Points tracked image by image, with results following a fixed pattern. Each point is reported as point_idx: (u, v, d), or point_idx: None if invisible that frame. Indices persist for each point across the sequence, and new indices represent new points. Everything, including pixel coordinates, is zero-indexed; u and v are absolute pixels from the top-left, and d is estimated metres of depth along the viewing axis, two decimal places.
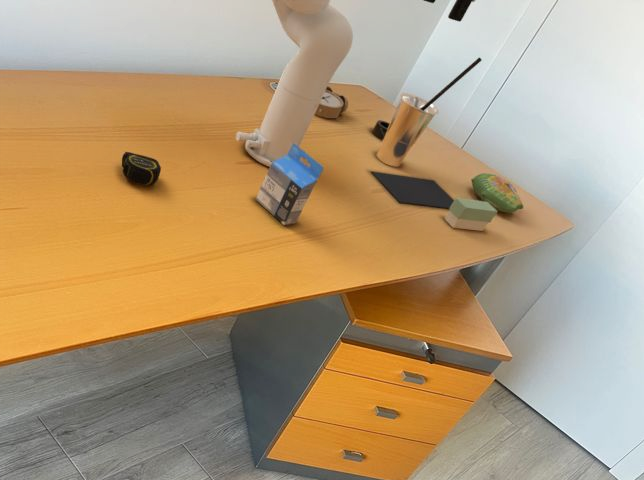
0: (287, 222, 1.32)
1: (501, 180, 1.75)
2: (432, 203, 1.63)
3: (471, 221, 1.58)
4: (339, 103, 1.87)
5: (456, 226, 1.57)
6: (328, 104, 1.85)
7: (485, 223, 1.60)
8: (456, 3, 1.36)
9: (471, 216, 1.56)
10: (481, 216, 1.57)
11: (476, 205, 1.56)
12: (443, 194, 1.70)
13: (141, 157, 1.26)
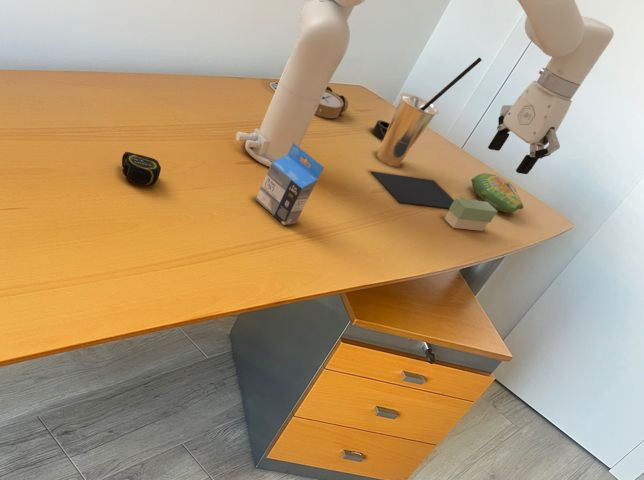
0: (287, 222, 1.32)
1: (501, 180, 1.75)
2: (432, 203, 1.63)
3: (471, 221, 1.58)
4: (339, 103, 1.87)
5: (456, 226, 1.57)
6: (328, 104, 1.85)
7: (485, 223, 1.60)
8: (524, 160, 1.45)
9: (471, 216, 1.56)
10: (481, 216, 1.57)
11: (476, 205, 1.56)
12: (443, 194, 1.70)
13: (141, 157, 1.26)
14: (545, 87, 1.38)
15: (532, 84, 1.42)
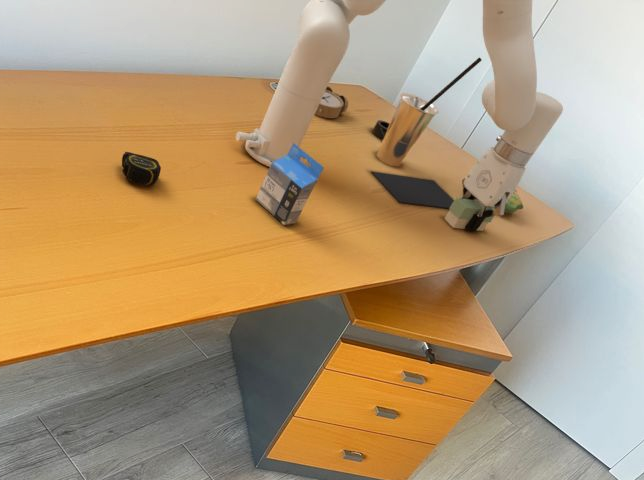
0: (287, 222, 1.32)
1: None
2: (432, 203, 1.63)
3: None
4: (339, 103, 1.87)
5: (456, 226, 1.57)
6: (328, 104, 1.85)
7: (485, 223, 1.60)
8: (472, 219, 1.56)
9: (471, 216, 1.56)
10: None
11: (476, 205, 1.56)
12: (443, 194, 1.70)
13: (141, 157, 1.26)
14: (500, 155, 1.47)
15: (489, 151, 1.51)
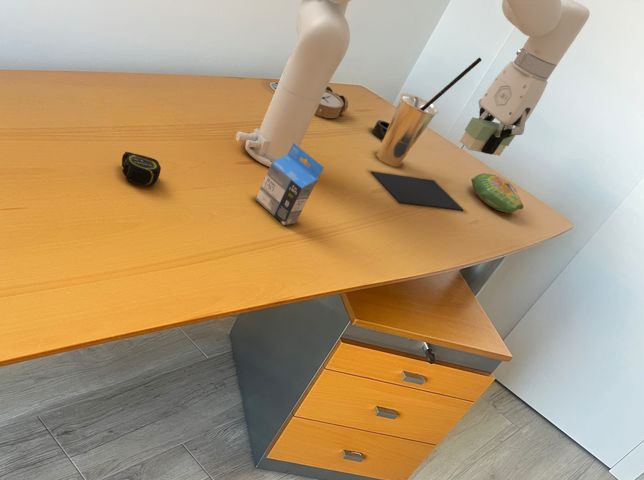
0: (287, 222, 1.32)
1: (501, 180, 1.75)
2: (432, 203, 1.63)
3: None
4: (339, 103, 1.87)
5: (472, 148, 1.48)
6: (328, 104, 1.85)
7: (503, 147, 1.51)
8: (489, 140, 1.47)
9: (488, 137, 1.47)
10: None
11: (493, 125, 1.47)
12: (443, 194, 1.70)
13: (141, 157, 1.26)
14: (521, 67, 1.38)
15: (509, 65, 1.42)
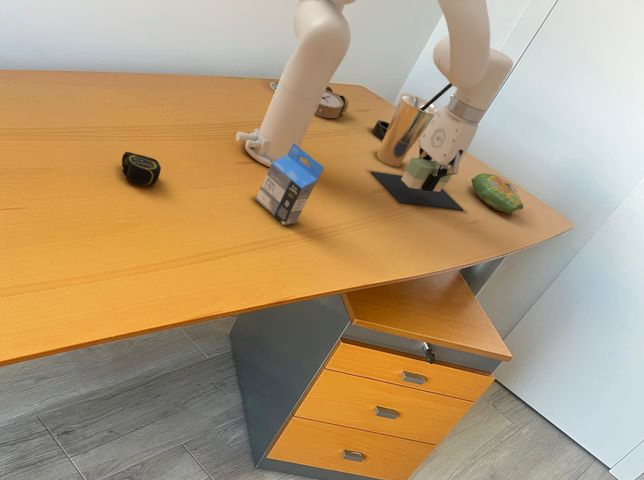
0: (287, 222, 1.32)
1: (501, 180, 1.75)
2: (432, 203, 1.63)
3: None
4: (339, 103, 1.87)
5: (412, 186, 1.57)
6: (328, 104, 1.85)
7: (442, 183, 1.60)
8: (428, 178, 1.56)
9: (427, 176, 1.56)
10: None
11: (431, 165, 1.57)
12: (443, 194, 1.70)
13: (141, 157, 1.26)
14: (453, 112, 1.47)
15: (443, 109, 1.51)
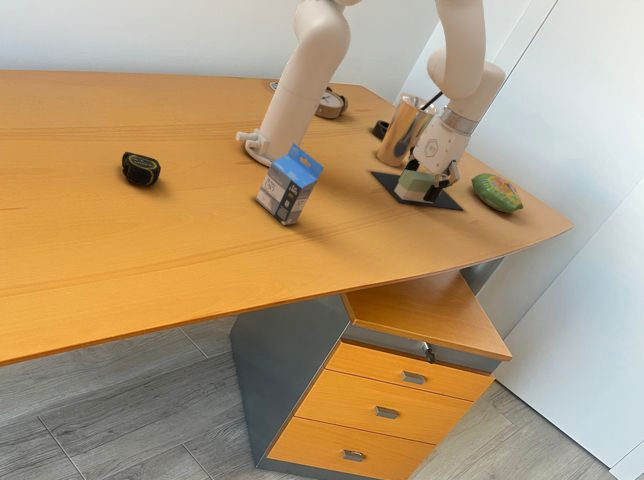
0: (287, 222, 1.32)
1: (501, 180, 1.75)
2: (432, 203, 1.63)
3: (420, 193, 1.60)
4: (339, 103, 1.87)
5: (405, 197, 1.59)
6: (328, 104, 1.85)
7: None
8: (430, 189, 1.56)
9: (419, 188, 1.58)
10: None
11: (424, 177, 1.59)
12: (443, 194, 1.70)
13: (141, 157, 1.26)
14: (446, 123, 1.49)
15: (436, 119, 1.53)
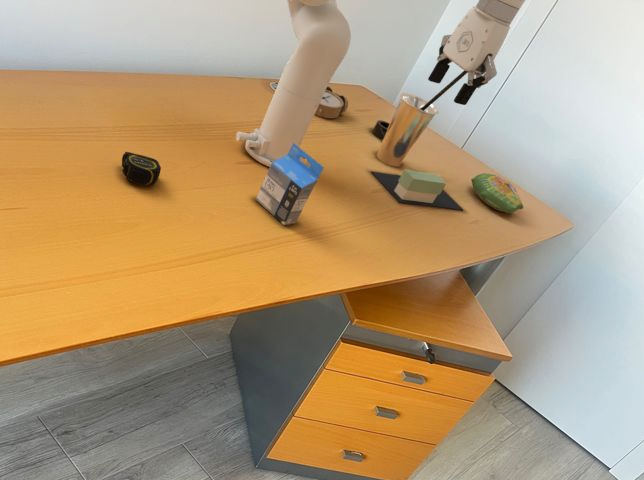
0: (287, 222, 1.32)
1: (501, 180, 1.75)
2: (432, 203, 1.63)
3: (420, 193, 1.60)
4: (339, 103, 1.87)
5: (405, 197, 1.59)
6: (328, 104, 1.85)
7: (434, 195, 1.62)
8: (462, 89, 1.41)
9: (419, 188, 1.58)
10: (430, 188, 1.59)
11: (424, 177, 1.59)
12: (443, 194, 1.70)
13: (141, 157, 1.26)
14: (483, 11, 1.34)
15: (471, 10, 1.38)
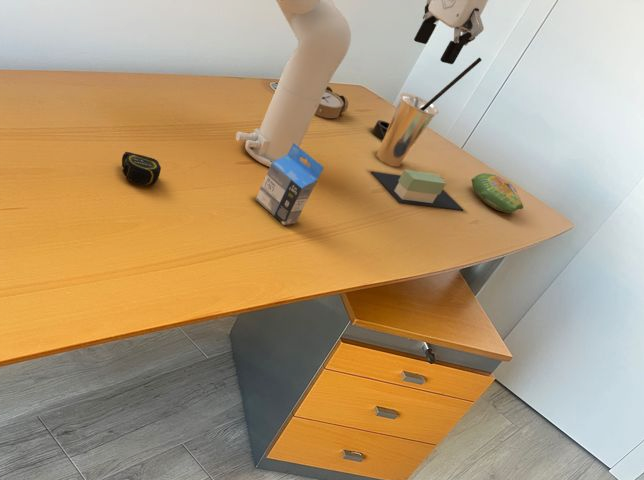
0: (287, 222, 1.32)
1: (501, 180, 1.75)
2: (432, 203, 1.63)
3: (420, 193, 1.60)
4: (339, 103, 1.87)
5: (405, 197, 1.59)
6: (328, 104, 1.85)
7: (434, 195, 1.62)
8: (448, 47, 1.36)
9: (419, 188, 1.58)
10: (430, 188, 1.59)
11: (424, 177, 1.59)
12: (443, 194, 1.70)
13: (141, 157, 1.26)
14: None
15: None
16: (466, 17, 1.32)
